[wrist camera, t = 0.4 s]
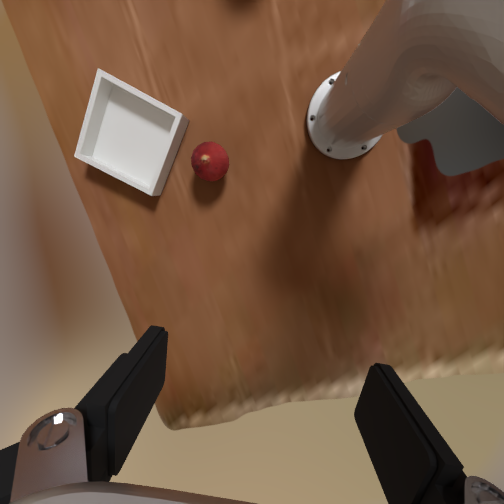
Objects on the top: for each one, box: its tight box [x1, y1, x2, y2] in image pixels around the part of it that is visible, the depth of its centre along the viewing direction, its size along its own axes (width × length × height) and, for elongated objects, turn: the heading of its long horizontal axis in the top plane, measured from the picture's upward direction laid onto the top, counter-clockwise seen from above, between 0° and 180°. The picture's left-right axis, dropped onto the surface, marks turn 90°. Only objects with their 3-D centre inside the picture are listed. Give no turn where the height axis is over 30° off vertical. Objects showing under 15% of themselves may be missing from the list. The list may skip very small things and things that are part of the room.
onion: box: [191, 142, 229, 181], centre depth 36 cm, size 6×6×8 cm
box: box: [74, 68, 189, 196], centre depth 38 cm, size 14×14×4 cm
